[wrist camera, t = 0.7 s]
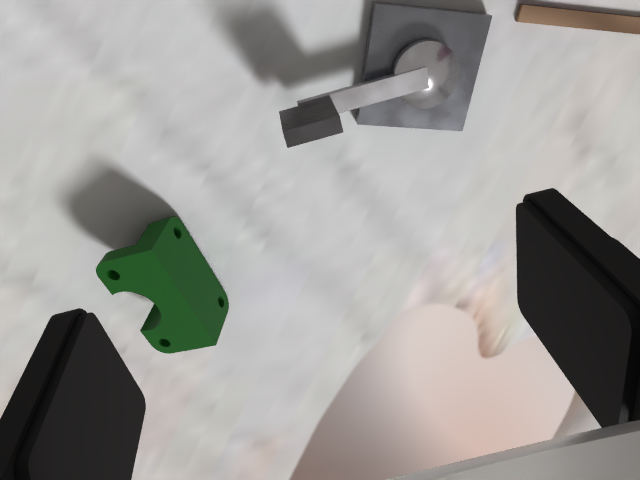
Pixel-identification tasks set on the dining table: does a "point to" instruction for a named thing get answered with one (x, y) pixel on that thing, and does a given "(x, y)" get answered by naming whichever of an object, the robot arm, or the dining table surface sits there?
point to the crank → (377, 92)
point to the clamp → (169, 287)
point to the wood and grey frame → (578, 19)
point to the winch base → (406, 28)
